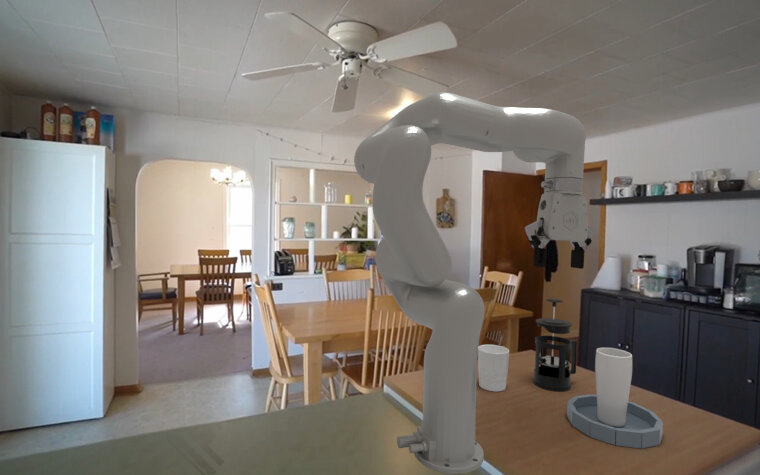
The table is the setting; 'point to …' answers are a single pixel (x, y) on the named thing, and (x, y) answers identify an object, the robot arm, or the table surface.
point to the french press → (552, 368)
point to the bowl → (635, 433)
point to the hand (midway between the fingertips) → (558, 267)
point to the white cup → (492, 367)
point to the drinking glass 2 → (612, 385)
